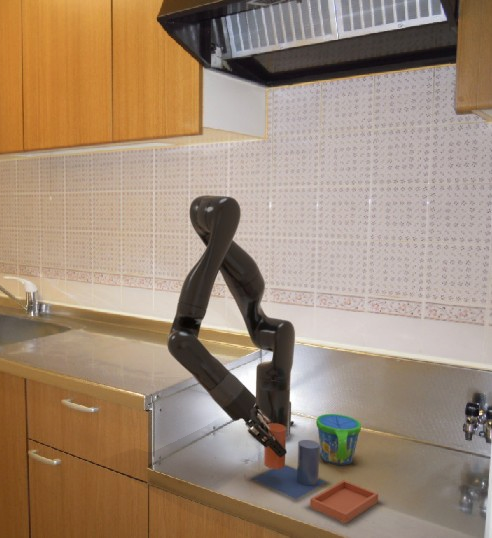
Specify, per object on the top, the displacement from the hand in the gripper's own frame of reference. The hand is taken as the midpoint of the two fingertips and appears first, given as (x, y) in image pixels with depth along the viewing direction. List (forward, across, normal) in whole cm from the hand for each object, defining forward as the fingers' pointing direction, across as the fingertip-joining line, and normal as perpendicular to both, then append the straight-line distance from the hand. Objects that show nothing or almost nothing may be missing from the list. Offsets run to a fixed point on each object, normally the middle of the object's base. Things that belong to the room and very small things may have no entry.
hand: (283, 449), depth 132 cm
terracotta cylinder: (+1, 0, +4) cm, 4 cm away
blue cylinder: (+10, +2, +2) cm, 10 cm away
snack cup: (+16, +15, -4) cm, 22 cm away
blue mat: (+7, +1, +5) cm, 8 cm away
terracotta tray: (+15, -8, -3) cm, 17 cm away
